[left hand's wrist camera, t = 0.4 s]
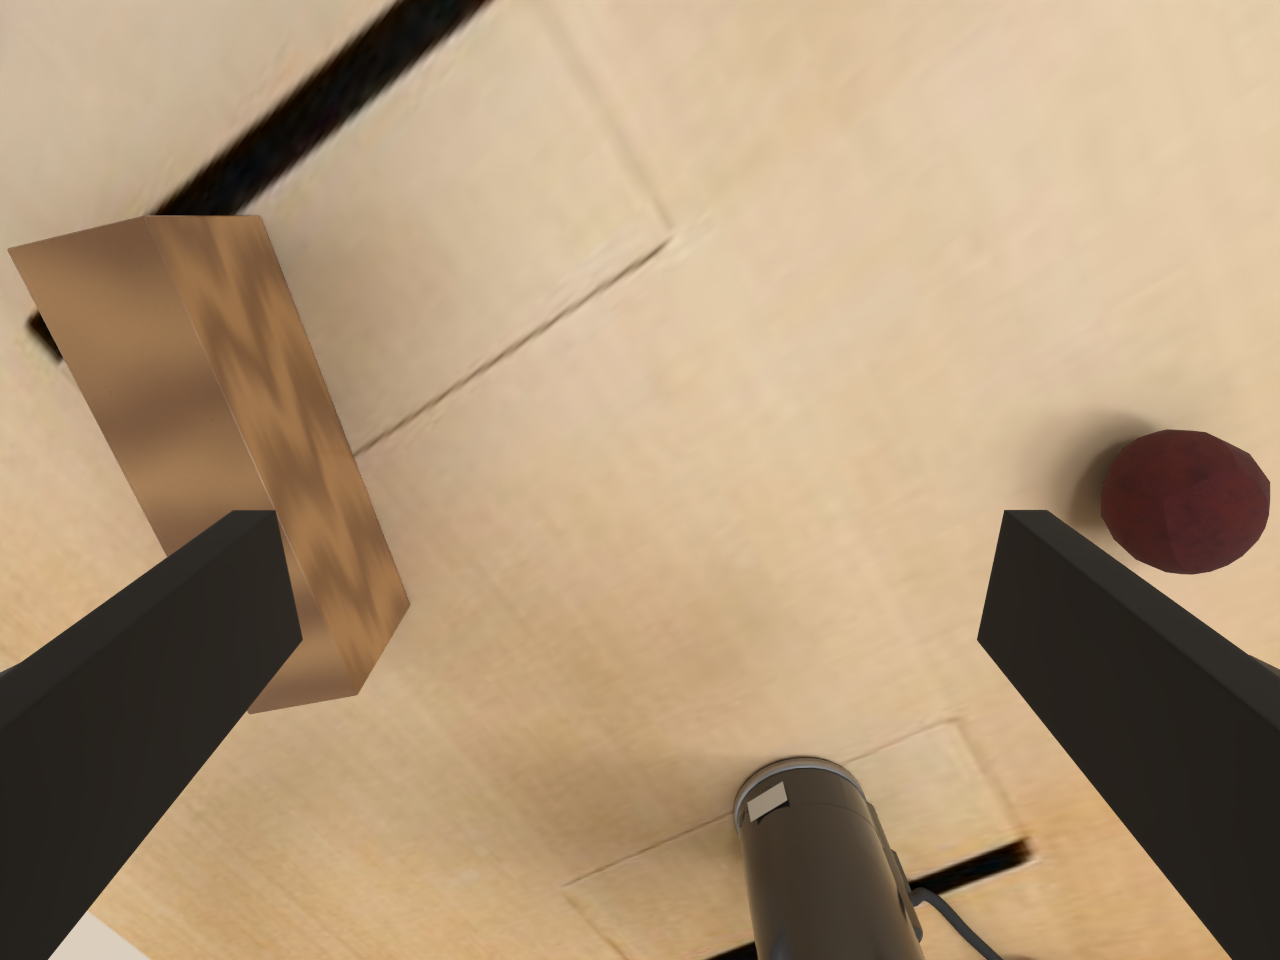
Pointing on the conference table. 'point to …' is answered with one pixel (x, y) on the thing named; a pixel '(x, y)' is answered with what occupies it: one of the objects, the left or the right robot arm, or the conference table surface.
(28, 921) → the left robot arm
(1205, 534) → the dark red ball
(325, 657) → the bar
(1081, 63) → the conference table surface
